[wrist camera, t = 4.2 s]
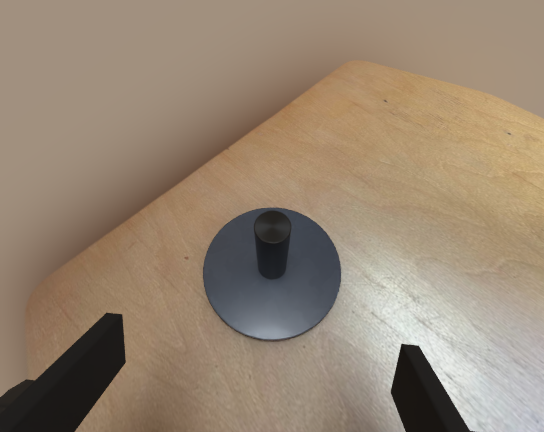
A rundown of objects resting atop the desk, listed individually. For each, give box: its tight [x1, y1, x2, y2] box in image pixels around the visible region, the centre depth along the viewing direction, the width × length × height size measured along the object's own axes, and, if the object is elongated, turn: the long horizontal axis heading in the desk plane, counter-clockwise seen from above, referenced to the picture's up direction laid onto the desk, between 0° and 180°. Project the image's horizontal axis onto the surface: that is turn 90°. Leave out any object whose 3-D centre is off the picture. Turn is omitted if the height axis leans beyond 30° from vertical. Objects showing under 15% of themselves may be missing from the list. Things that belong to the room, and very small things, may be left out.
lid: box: [203, 208, 341, 341], centre depth 26 cm, size 14×14×10 cm
